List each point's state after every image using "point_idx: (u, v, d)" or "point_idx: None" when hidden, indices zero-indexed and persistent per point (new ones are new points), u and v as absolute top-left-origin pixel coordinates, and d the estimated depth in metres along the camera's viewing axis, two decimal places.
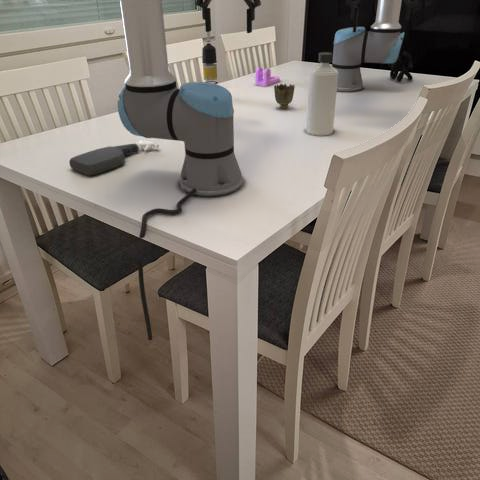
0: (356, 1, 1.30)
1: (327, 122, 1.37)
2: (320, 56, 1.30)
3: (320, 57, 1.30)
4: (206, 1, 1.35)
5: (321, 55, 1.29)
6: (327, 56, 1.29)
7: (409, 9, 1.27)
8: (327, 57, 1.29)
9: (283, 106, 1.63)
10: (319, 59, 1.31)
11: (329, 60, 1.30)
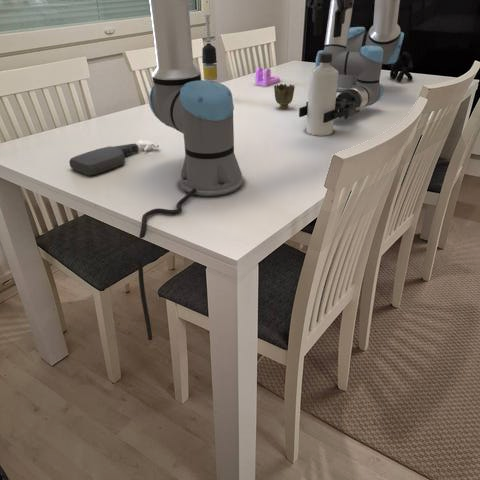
0: None
1: (327, 122, 1.37)
2: (320, 56, 1.30)
3: (320, 57, 1.30)
4: None
5: (321, 55, 1.29)
6: (327, 56, 1.29)
7: None
8: (327, 57, 1.29)
9: (283, 106, 1.63)
10: (319, 59, 1.31)
11: (329, 60, 1.30)
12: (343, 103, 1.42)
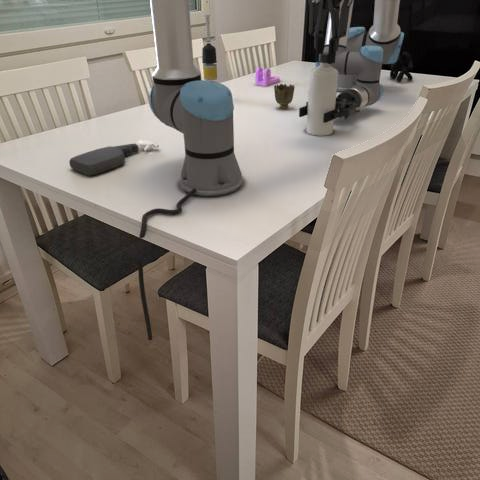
0: None
1: (327, 122, 1.37)
2: (320, 56, 1.30)
3: (320, 57, 1.30)
4: None
5: (321, 55, 1.29)
6: (327, 56, 1.29)
7: None
8: (327, 57, 1.29)
9: (283, 106, 1.63)
10: (319, 59, 1.31)
11: None
12: (343, 103, 1.42)
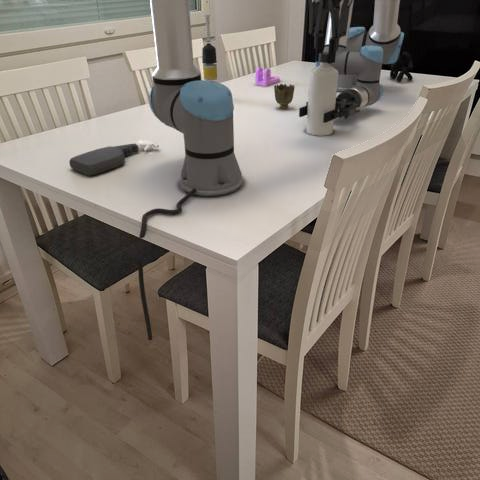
0: None
1: (327, 122, 1.37)
2: None
3: None
4: None
5: None
6: None
7: None
8: None
9: (283, 106, 1.63)
10: (327, 59, 1.29)
11: None
12: (343, 103, 1.42)
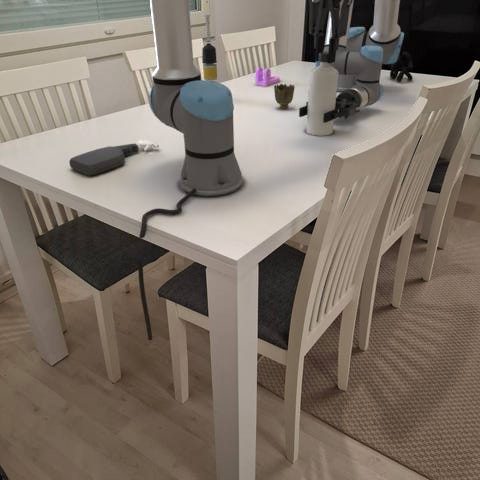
0: None
1: (327, 122, 1.37)
2: None
3: None
4: None
5: None
6: None
7: None
8: None
9: (283, 106, 1.63)
10: None
11: None
12: (343, 103, 1.42)
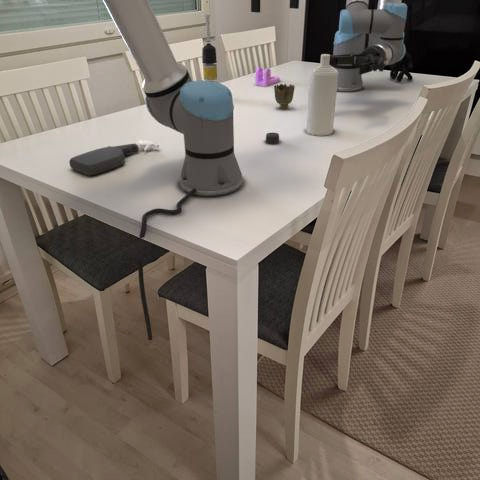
0: None
1: (327, 122, 1.37)
2: (278, 136, 1.34)
3: (278, 137, 1.34)
4: None
5: (278, 134, 1.34)
6: None
7: None
8: None
9: (283, 106, 1.63)
10: (278, 140, 1.34)
11: None
12: (372, 57, 1.43)
